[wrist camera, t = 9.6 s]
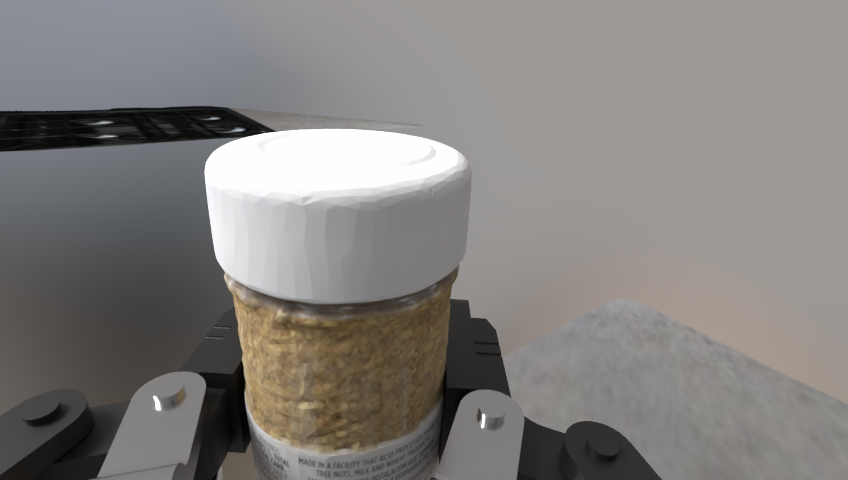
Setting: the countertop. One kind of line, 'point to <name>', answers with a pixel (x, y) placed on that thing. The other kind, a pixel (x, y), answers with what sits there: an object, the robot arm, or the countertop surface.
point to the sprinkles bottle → (341, 295)
